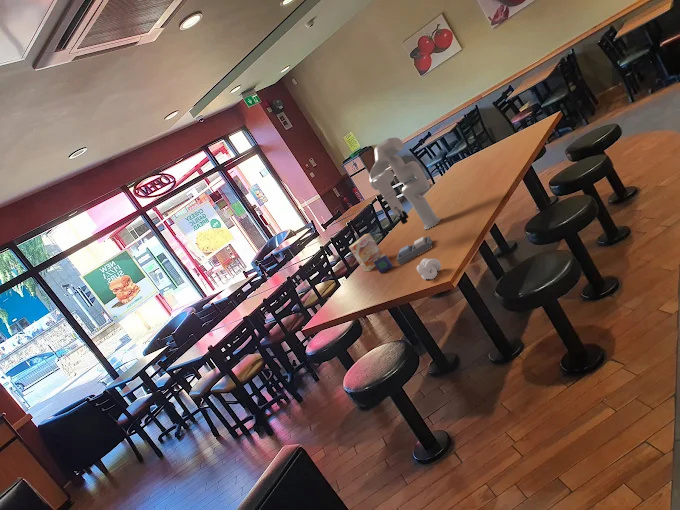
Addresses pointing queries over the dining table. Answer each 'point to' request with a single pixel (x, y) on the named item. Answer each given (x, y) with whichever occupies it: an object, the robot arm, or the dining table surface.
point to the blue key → (405, 250)
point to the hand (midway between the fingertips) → (405, 220)
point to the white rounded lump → (428, 268)
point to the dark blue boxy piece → (383, 263)
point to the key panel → (415, 251)
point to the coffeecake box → (366, 251)
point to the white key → (419, 242)
